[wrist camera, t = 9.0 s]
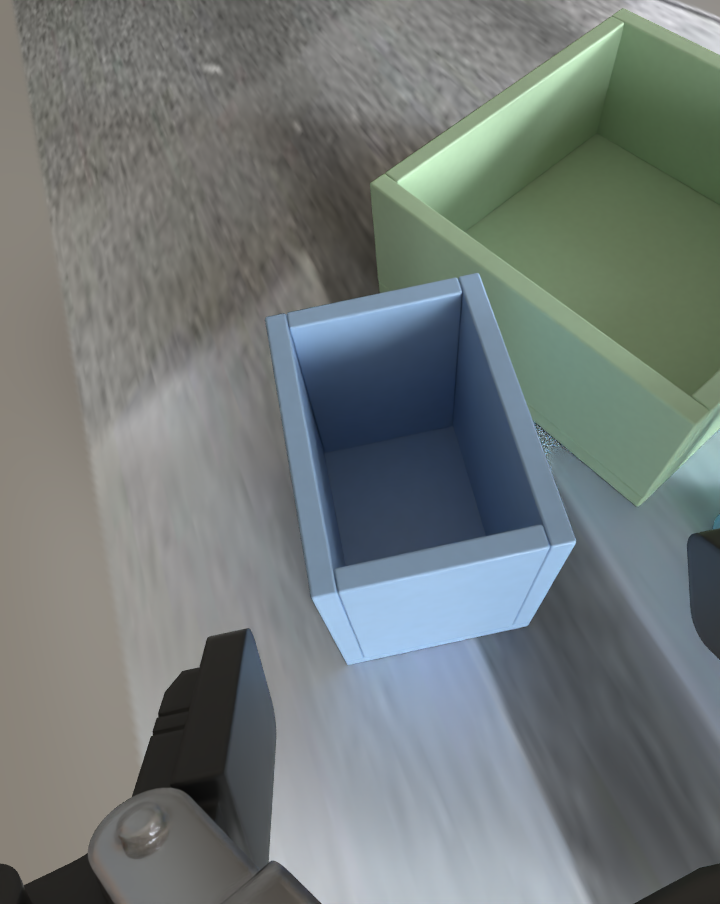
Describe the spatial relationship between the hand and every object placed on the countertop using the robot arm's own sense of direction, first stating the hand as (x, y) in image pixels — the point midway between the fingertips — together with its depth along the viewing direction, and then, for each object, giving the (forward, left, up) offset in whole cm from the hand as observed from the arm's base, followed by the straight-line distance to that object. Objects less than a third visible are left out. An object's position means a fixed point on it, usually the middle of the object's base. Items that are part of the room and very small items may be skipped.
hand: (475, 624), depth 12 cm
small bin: (+3, +5, -10) cm, 12 cm away
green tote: (+16, +7, -10) cm, 20 cm away
